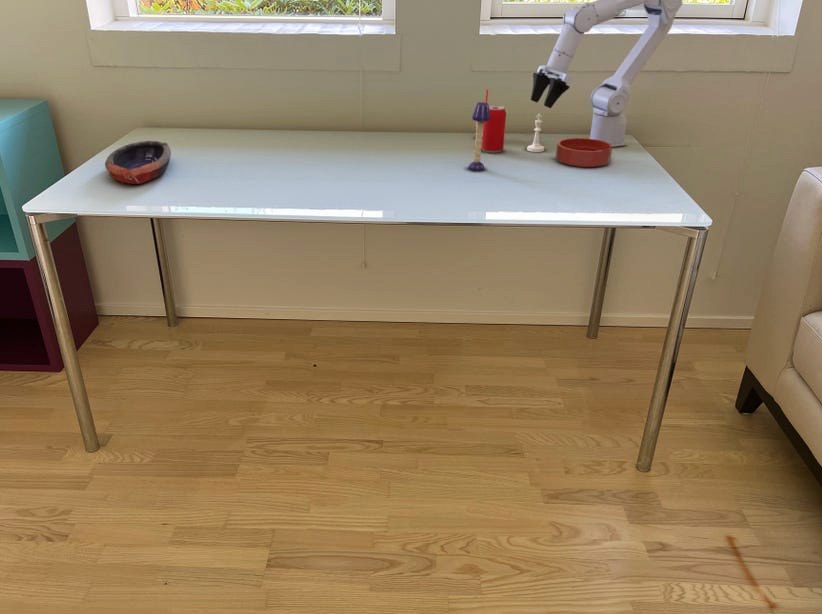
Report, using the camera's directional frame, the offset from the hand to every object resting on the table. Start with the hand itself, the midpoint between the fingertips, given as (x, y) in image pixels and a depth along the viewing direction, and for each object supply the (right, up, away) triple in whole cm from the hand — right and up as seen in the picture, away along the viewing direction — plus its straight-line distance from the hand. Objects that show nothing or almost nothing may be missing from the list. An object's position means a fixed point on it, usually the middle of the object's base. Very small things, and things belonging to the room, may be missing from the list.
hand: (540, 104), depth 200 cm
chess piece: (0, -11, +7) cm, 13 cm away
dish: (-106, -22, -12) cm, 109 cm away
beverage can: (-12, -11, +6) cm, 18 cm away
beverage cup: (-13, -4, +18) cm, 23 cm away
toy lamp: (-19, -21, -9) cm, 29 cm away
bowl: (+11, -17, -3) cm, 20 cm away
